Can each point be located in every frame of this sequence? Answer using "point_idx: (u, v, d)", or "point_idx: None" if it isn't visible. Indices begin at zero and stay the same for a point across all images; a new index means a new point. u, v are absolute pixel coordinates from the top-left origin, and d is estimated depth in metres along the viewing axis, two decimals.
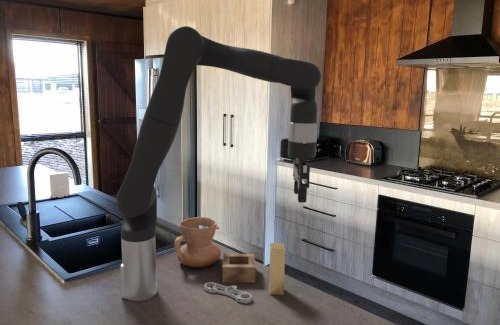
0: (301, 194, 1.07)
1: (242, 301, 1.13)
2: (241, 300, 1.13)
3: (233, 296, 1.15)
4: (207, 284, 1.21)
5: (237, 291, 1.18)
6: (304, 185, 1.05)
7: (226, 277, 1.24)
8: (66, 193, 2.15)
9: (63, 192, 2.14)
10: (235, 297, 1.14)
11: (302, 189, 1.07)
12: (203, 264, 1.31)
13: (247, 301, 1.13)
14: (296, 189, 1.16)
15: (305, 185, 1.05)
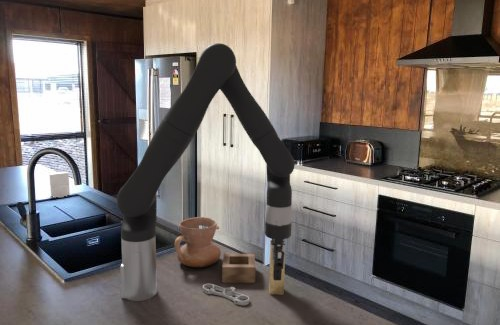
0: (276, 273, 1.15)
1: (239, 303, 1.12)
2: (238, 302, 1.12)
3: (231, 298, 1.14)
4: (205, 285, 1.20)
5: (235, 293, 1.17)
6: (278, 267, 1.13)
7: (226, 277, 1.24)
8: (66, 193, 2.15)
9: (63, 192, 2.14)
10: (232, 299, 1.13)
11: (277, 269, 1.15)
12: (203, 264, 1.31)
13: (244, 303, 1.11)
14: None
15: (279, 266, 1.13)
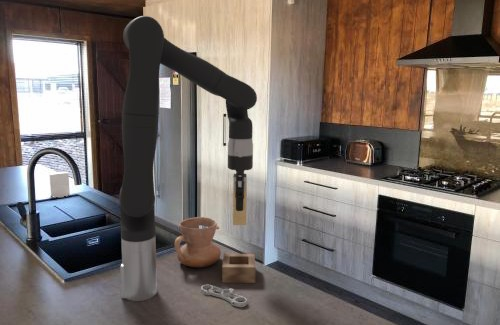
0: (238, 203, 1.21)
1: (237, 305, 1.11)
2: (236, 304, 1.11)
3: (228, 299, 1.13)
4: (204, 286, 1.20)
5: (233, 294, 1.16)
6: (239, 196, 1.19)
7: (226, 277, 1.24)
8: (66, 193, 2.15)
9: (63, 192, 2.14)
10: (230, 300, 1.12)
11: (238, 200, 1.21)
12: (203, 264, 1.31)
13: (242, 305, 1.10)
14: None
15: (240, 196, 1.19)
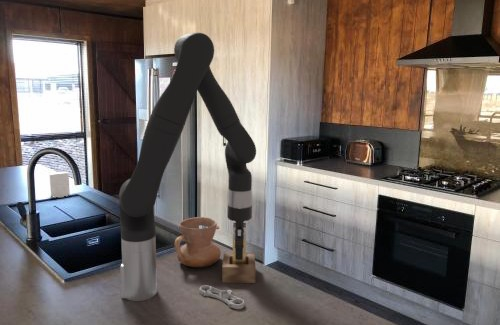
0: (237, 253, 1.23)
1: (234, 307, 1.10)
2: (233, 306, 1.10)
3: (226, 301, 1.12)
4: (203, 287, 1.19)
5: (231, 296, 1.15)
6: (239, 246, 1.20)
7: (226, 277, 1.24)
8: (66, 193, 2.15)
9: (63, 192, 2.14)
10: (227, 302, 1.12)
11: (238, 249, 1.22)
12: (203, 264, 1.31)
13: (239, 307, 1.09)
14: None
15: (240, 246, 1.20)
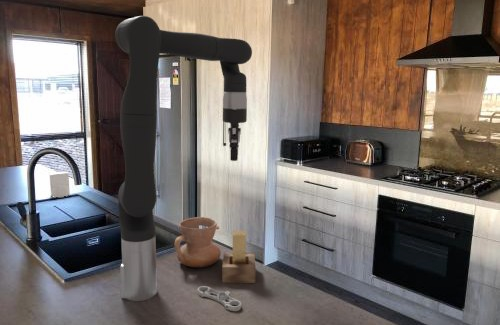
0: (232, 153, 1.25)
1: (230, 308, 1.09)
2: (229, 307, 1.09)
3: (223, 302, 1.11)
4: (201, 288, 1.19)
5: (229, 297, 1.14)
6: (233, 145, 1.22)
7: (226, 277, 1.24)
8: (66, 193, 2.15)
9: (63, 192, 2.14)
10: (224, 304, 1.11)
11: (233, 149, 1.24)
12: (203, 264, 1.31)
13: (235, 309, 1.08)
14: None
15: (234, 145, 1.23)
